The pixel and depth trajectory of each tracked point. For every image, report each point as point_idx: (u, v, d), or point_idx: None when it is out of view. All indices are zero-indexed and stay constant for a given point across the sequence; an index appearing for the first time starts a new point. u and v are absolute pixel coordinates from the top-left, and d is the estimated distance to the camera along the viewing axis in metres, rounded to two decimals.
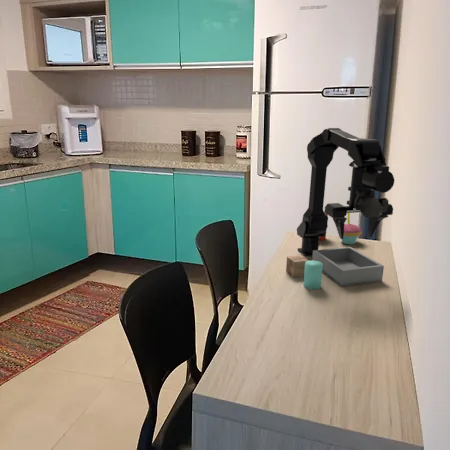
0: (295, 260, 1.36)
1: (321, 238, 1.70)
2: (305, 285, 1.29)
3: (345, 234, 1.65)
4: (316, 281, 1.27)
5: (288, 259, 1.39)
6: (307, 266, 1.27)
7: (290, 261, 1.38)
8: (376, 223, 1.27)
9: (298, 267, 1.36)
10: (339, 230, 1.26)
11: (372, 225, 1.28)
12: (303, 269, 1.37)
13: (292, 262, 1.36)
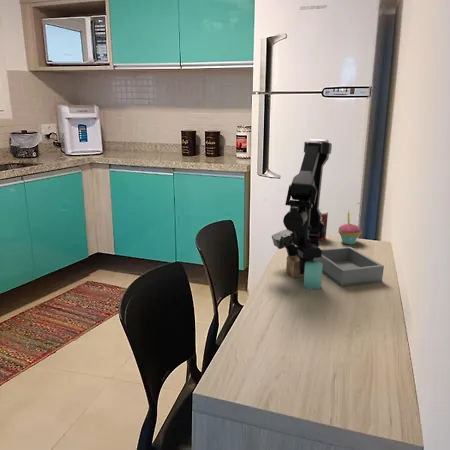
0: (295, 260, 1.36)
1: None
2: (305, 285, 1.29)
3: (345, 234, 1.65)
4: (316, 281, 1.27)
5: (288, 259, 1.39)
6: (307, 266, 1.27)
7: (290, 260, 1.38)
8: (300, 261, 1.34)
9: (298, 267, 1.36)
10: None
11: None
12: None
13: (292, 261, 1.36)
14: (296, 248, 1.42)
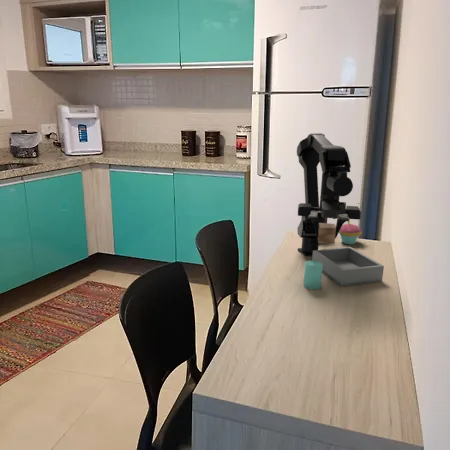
0: (332, 227, 1.36)
1: None
2: (305, 285, 1.29)
3: (345, 234, 1.65)
4: (316, 281, 1.27)
5: (322, 229, 1.36)
6: (307, 266, 1.27)
7: (326, 229, 1.36)
8: (338, 225, 1.36)
9: None
10: (315, 229, 1.39)
11: (336, 227, 1.37)
12: None
13: (331, 229, 1.36)
14: None
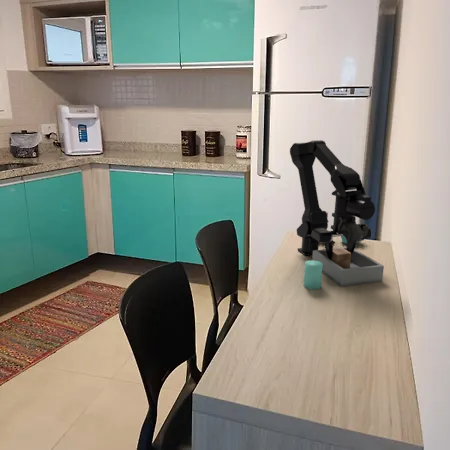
0: (346, 252, 1.41)
1: None
2: (305, 285, 1.29)
3: None
4: (316, 281, 1.27)
5: (340, 256, 1.40)
6: (307, 266, 1.27)
7: (343, 255, 1.40)
8: (354, 245, 1.42)
9: None
10: (328, 252, 1.41)
11: (350, 247, 1.43)
12: None
13: (347, 255, 1.40)
14: None
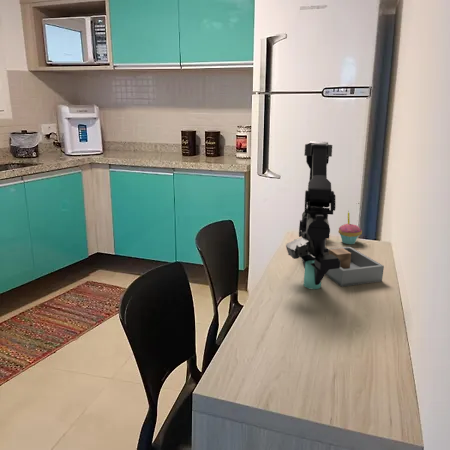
0: (346, 252, 1.41)
1: None
2: (305, 285, 1.29)
3: (345, 234, 1.65)
4: None
5: (340, 256, 1.40)
6: (307, 266, 1.27)
7: (343, 255, 1.40)
8: (315, 271, 1.25)
9: None
10: None
11: None
12: None
13: (347, 255, 1.40)
14: (313, 258, 1.32)
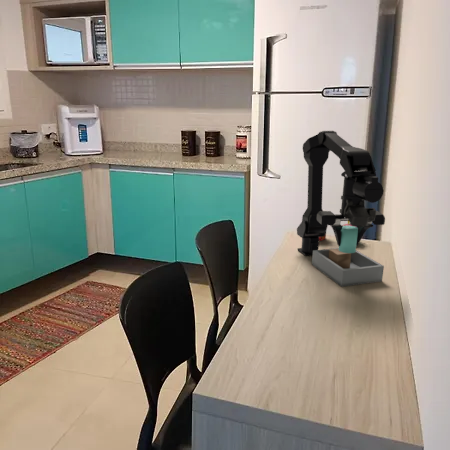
0: None
1: (321, 238, 1.70)
2: (351, 251, 1.30)
3: None
4: None
5: (340, 256, 1.40)
6: (354, 231, 1.29)
7: (343, 255, 1.40)
8: (361, 232, 1.30)
9: None
10: (336, 237, 1.31)
11: (358, 234, 1.31)
12: None
13: (347, 255, 1.40)
14: None
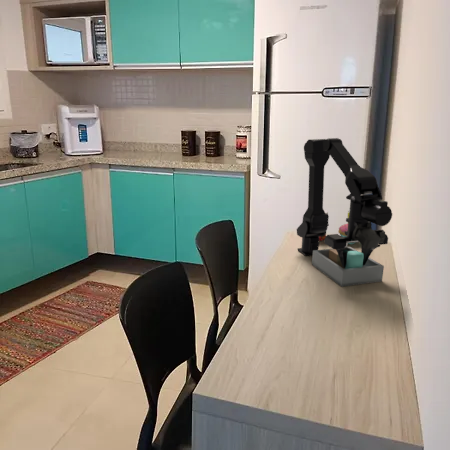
0: None
1: (321, 238, 1.70)
2: None
3: None
4: None
5: None
6: (361, 257, 1.33)
7: None
8: (369, 252, 1.34)
9: None
10: (342, 259, 1.33)
11: (365, 254, 1.35)
12: None
13: None
14: None
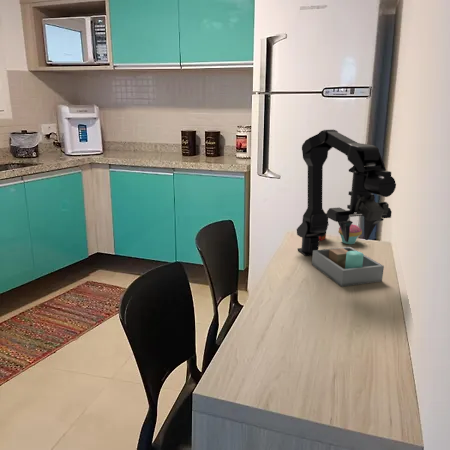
0: (346, 252, 1.41)
1: (321, 238, 1.70)
2: None
3: None
4: None
5: (340, 256, 1.40)
6: (361, 257, 1.33)
7: (343, 255, 1.40)
8: (372, 226, 1.32)
9: None
10: (344, 233, 1.31)
11: (368, 228, 1.33)
12: None
13: None
14: None
